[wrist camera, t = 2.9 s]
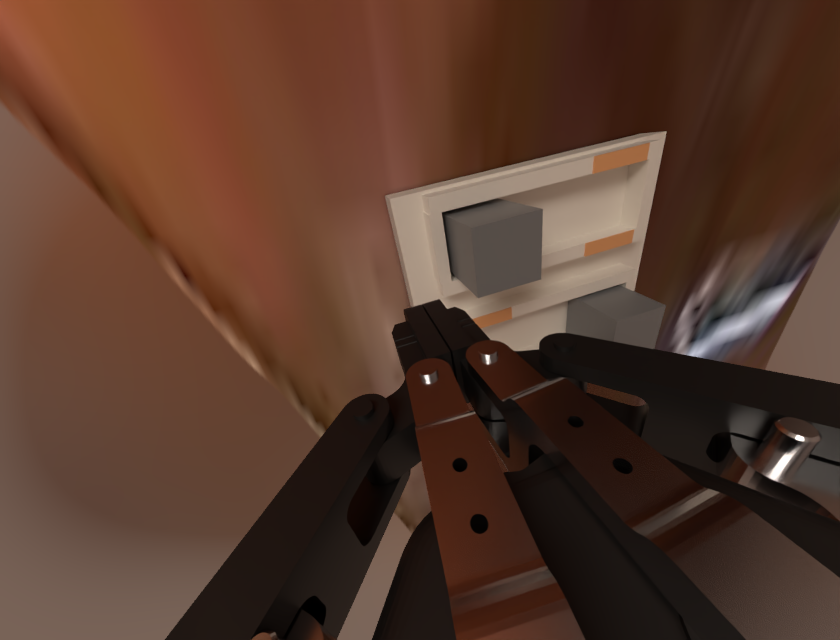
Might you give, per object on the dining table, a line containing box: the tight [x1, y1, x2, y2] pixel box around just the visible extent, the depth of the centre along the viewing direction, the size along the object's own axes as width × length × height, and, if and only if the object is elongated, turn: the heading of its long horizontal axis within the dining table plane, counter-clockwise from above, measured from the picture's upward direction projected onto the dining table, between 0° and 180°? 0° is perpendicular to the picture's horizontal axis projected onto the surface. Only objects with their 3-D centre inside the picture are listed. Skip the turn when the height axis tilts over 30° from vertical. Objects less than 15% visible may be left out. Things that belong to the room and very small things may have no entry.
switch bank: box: [385, 131, 667, 351], centre depth 24 cm, size 16×20×4 cm
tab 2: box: [566, 285, 666, 349], centre depth 24 cm, size 4×4×5 cm
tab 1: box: [442, 198, 543, 298], centre depth 18 cm, size 4×4×5 cm
